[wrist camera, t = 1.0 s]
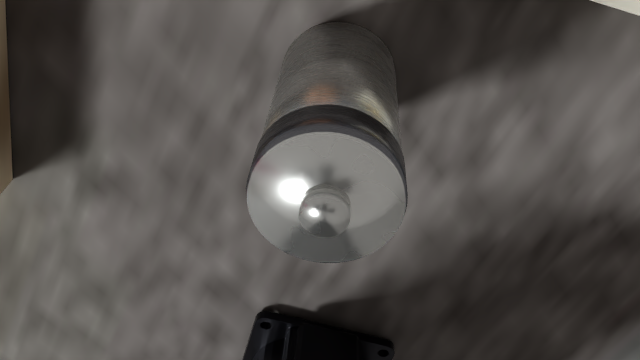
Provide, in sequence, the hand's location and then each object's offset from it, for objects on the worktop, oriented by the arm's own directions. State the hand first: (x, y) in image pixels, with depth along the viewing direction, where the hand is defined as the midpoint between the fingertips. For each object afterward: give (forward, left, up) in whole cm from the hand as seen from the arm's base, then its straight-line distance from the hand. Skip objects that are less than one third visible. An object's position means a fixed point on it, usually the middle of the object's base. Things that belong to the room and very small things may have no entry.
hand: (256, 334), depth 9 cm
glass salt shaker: (-1, -1, -12) cm, 12 cm away
